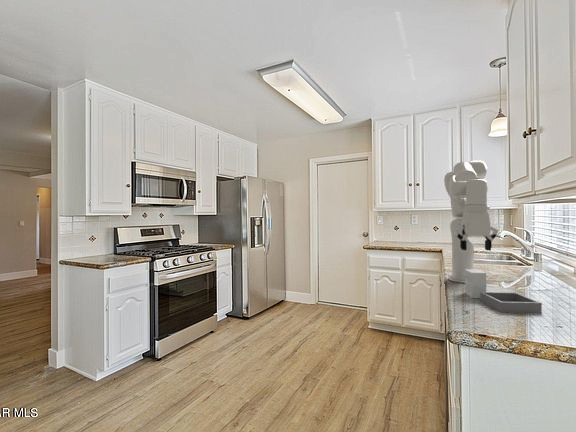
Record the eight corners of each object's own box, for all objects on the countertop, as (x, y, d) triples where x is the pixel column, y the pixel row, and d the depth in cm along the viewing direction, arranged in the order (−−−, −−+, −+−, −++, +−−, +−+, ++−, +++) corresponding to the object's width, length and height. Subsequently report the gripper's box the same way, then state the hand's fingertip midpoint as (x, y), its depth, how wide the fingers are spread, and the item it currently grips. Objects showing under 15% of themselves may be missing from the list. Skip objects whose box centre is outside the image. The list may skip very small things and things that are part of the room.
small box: (486, 298, 126) (486, 273, 126) (471, 298, 127) (471, 272, 127) (478, 293, 134) (478, 269, 133) (464, 293, 135) (464, 268, 135)
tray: (480, 300, 123) (480, 292, 123) (516, 301, 122) (516, 292, 122) (500, 312, 110) (501, 302, 110) (541, 312, 109) (541, 302, 109)
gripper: (492, 209, 133) (492, 249, 133) (450, 209, 134) (450, 248, 134) (503, 208, 125) (503, 251, 125) (458, 209, 126) (458, 251, 126)
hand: (475, 250), depth 130 cm, fingers open, 9 cm apart
